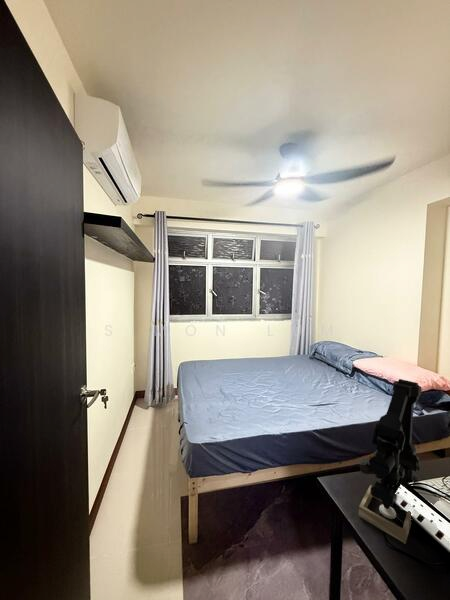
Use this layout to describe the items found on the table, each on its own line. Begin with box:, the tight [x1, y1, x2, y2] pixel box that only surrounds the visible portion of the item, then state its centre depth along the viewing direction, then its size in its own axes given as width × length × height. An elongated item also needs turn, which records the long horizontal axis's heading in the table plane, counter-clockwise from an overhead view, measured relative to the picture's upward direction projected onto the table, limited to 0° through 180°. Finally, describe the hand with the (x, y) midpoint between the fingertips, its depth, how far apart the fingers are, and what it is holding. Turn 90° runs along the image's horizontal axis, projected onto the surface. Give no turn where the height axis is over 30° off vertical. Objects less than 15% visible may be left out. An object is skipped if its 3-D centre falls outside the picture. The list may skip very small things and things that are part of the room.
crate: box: [358, 484, 413, 545], centre depth 85 cm, size 13×13×4 cm
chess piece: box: [378, 486, 397, 520], centre depth 86 cm, size 5×5×10 cm
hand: (387, 503), depth 86 cm, fingers open, 4 cm apart
